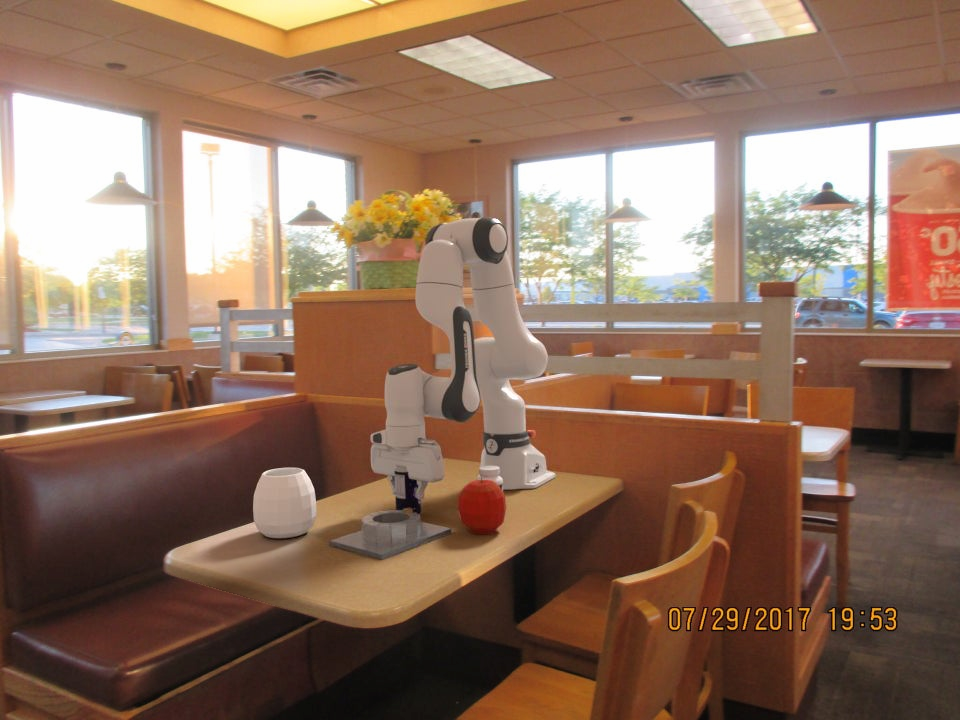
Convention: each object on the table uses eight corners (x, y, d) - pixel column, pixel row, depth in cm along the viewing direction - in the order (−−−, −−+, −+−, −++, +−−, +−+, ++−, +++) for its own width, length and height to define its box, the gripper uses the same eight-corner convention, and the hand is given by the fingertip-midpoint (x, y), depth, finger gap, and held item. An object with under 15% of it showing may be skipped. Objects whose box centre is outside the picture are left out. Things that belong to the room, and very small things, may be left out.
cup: (294, 545, 153) (291, 480, 152) (241, 540, 158) (237, 477, 157) (329, 527, 165) (326, 466, 164) (278, 522, 170) (275, 463, 169)
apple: (501, 522, 165) (500, 470, 164) (511, 536, 155) (510, 480, 155) (456, 526, 164) (454, 473, 163) (462, 540, 154) (461, 484, 153)
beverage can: (417, 520, 169) (415, 467, 168) (392, 519, 170) (390, 467, 169) (424, 513, 174) (422, 462, 173) (400, 512, 175) (398, 461, 174)
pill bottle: (476, 519, 168) (475, 471, 167) (475, 512, 174) (474, 465, 173) (504, 518, 168) (503, 470, 167) (502, 511, 174) (501, 464, 173)
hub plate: (400, 521, 168) (399, 498, 168) (451, 533, 158) (450, 508, 158) (330, 545, 152) (329, 519, 152) (381, 559, 143) (380, 532, 143)
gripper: (449, 438, 167) (451, 499, 168) (384, 430, 179) (387, 487, 180) (430, 442, 162) (432, 506, 163) (365, 434, 175) (367, 493, 176)
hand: (408, 496), depth 172 cm, fingers closed on beverage can, 6 cm apart
